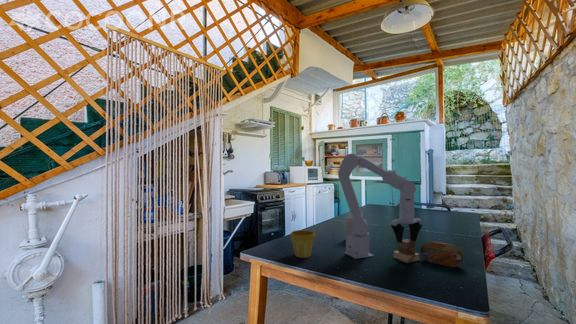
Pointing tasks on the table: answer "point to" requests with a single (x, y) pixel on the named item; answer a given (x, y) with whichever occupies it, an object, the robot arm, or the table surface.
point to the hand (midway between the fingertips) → (406, 241)
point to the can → (348, 226)
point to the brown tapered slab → (442, 253)
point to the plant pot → (302, 242)
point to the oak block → (406, 257)
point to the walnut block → (407, 247)
